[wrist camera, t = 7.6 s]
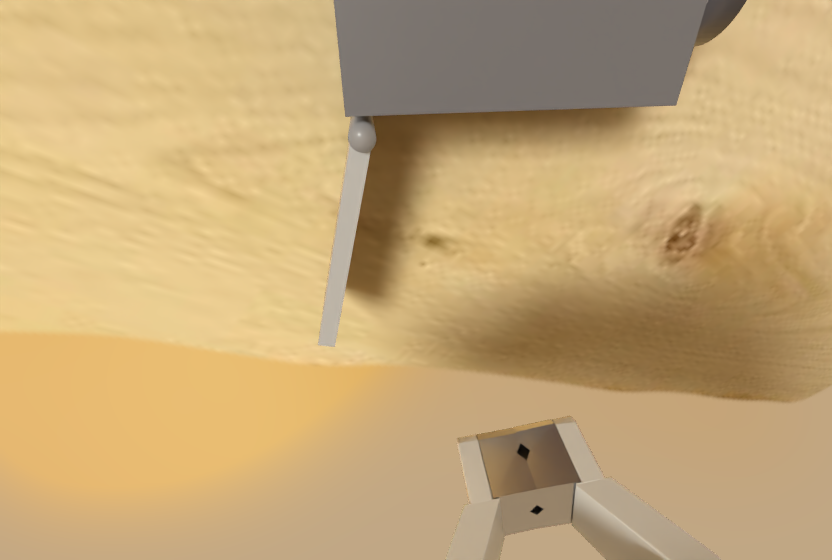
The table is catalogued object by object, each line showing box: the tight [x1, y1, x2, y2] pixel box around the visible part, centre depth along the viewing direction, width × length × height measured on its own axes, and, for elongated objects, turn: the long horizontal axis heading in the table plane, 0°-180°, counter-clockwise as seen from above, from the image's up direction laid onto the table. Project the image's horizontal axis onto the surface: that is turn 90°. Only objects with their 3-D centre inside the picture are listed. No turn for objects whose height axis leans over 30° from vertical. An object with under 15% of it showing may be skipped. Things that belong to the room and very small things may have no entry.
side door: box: [318, 116, 376, 347], centre depth 19 cm, size 10×1×6 cm, turn 166°
